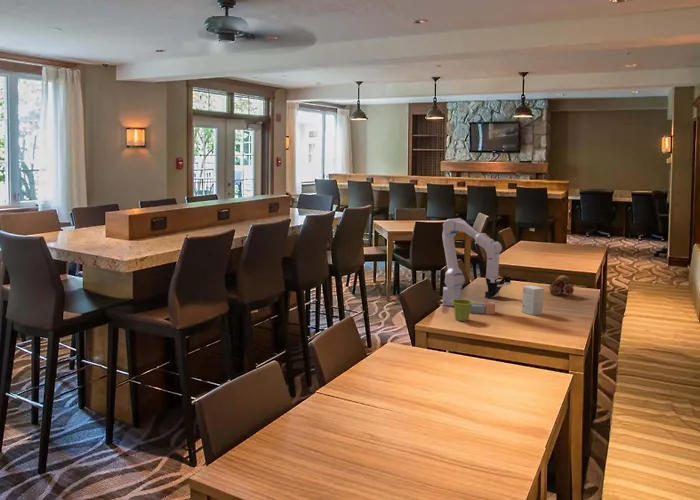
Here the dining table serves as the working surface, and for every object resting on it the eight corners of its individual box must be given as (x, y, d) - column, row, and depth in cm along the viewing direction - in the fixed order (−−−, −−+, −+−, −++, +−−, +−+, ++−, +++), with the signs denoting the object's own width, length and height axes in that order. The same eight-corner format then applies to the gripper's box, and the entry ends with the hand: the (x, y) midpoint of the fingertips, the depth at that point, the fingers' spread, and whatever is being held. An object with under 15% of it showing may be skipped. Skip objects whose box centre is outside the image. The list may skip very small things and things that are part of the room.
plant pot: (459, 323, 280) (460, 304, 279) (447, 318, 288) (448, 300, 287) (475, 321, 284) (477, 302, 283) (463, 316, 293) (464, 298, 291)
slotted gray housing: (467, 312, 300) (468, 305, 299) (467, 309, 305) (467, 303, 304) (484, 313, 299) (484, 306, 298) (484, 311, 303) (484, 304, 303)
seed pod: (540, 284, 339) (568, 278, 332) (543, 273, 353) (569, 267, 346) (547, 305, 342) (574, 300, 335) (549, 293, 356) (575, 288, 349)
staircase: (484, 298, 333) (485, 276, 331) (495, 295, 339) (497, 274, 337) (498, 301, 326) (499, 279, 324) (509, 299, 333) (511, 276, 331)
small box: (542, 314, 300) (544, 288, 298) (532, 315, 297) (534, 289, 295) (530, 310, 307) (532, 285, 305) (520, 311, 304) (522, 285, 302)
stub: (485, 313, 299) (485, 303, 298) (484, 311, 303) (485, 301, 303) (494, 314, 298) (495, 304, 297) (494, 311, 303) (494, 302, 302)
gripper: (502, 270, 289) (500, 298, 291) (500, 264, 303) (498, 291, 306) (486, 269, 291) (485, 297, 293) (485, 264, 305) (483, 290, 307)
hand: (490, 294), depth 299 cm, fingers open, 7 cm apart
